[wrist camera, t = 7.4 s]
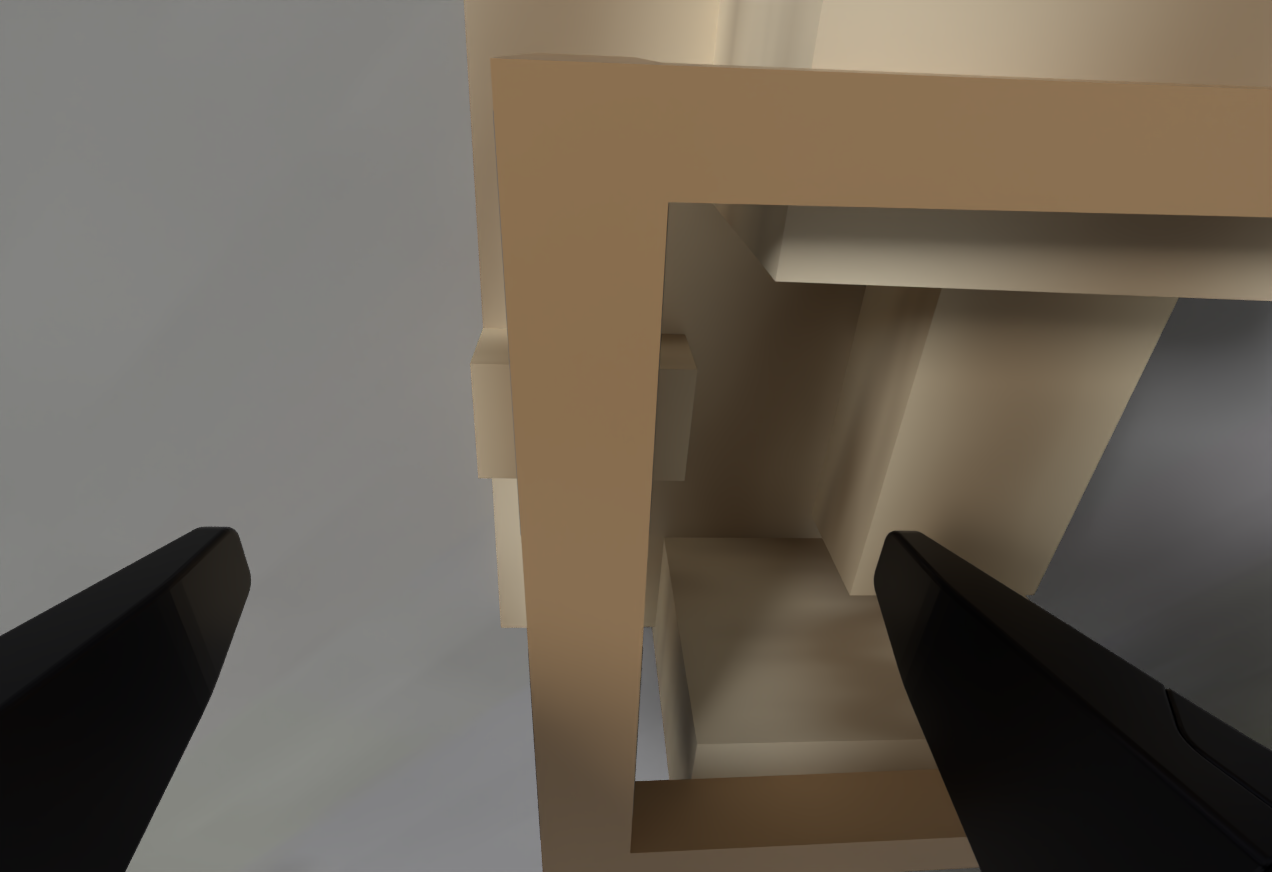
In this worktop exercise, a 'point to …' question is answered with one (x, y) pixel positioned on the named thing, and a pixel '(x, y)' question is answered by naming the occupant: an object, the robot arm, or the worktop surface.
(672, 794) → the glasses
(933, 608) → the robot arm
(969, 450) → the wooden block stand
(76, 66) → the worktop surface
